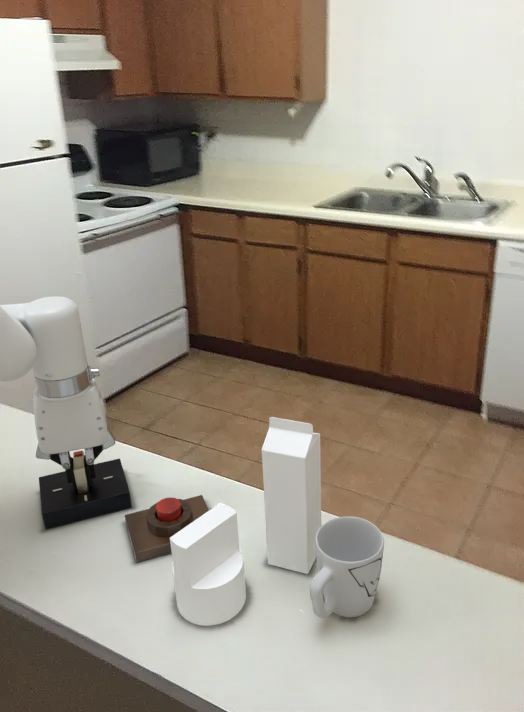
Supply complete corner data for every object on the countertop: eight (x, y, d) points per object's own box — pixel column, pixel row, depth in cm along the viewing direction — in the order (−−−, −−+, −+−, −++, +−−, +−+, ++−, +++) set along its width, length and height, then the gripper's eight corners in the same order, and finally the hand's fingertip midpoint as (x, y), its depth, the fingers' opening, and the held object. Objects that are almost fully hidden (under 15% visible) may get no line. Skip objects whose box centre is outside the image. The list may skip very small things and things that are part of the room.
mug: (342, 653, 79) (342, 589, 75) (287, 617, 84) (285, 555, 80) (394, 595, 86) (397, 534, 82) (342, 566, 92) (342, 507, 88)
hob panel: (45, 530, 101) (41, 513, 99) (42, 492, 109) (38, 476, 108) (132, 507, 105) (129, 491, 103) (122, 473, 113) (119, 457, 112)
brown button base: (136, 562, 94) (133, 543, 92) (126, 523, 101) (123, 505, 100) (218, 539, 97) (217, 520, 96) (202, 503, 105) (201, 485, 104)
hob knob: (88, 492, 104) (84, 466, 102) (78, 494, 103) (73, 469, 101) (87, 474, 108) (83, 449, 106) (77, 476, 108) (72, 451, 106)
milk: (283, 537, 97) (277, 404, 89) (322, 546, 95) (320, 411, 87) (267, 565, 92) (259, 427, 83) (308, 575, 90) (305, 435, 81)
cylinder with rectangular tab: (212, 563, 93) (205, 492, 88) (260, 594, 88) (255, 520, 83) (162, 602, 87) (151, 528, 82) (210, 637, 81) (201, 561, 76)
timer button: (159, 525, 96) (158, 515, 95) (154, 510, 99) (153, 500, 98) (184, 518, 97) (183, 509, 96) (178, 504, 100) (177, 494, 99)
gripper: (116, 361, 103) (131, 461, 111) (9, 377, 99) (32, 479, 107) (119, 383, 97) (135, 487, 104) (4, 401, 93) (29, 508, 100)
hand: (82, 482), depth 106 cm, fingers closed, pressing on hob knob
